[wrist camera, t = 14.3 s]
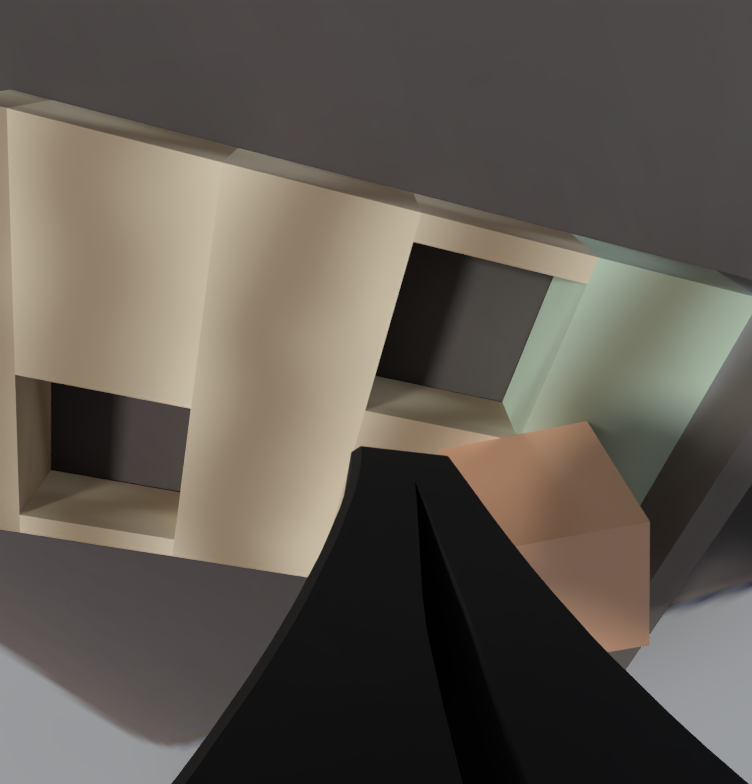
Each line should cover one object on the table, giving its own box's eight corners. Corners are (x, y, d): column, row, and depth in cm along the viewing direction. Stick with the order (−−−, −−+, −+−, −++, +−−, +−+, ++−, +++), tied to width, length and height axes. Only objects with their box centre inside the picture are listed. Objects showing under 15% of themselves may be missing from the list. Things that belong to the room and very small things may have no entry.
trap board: (747, 278, 18) (849, 339, 14) (579, 575, 23) (622, 673, 20) (11, 89, 15) (-101, 104, 11) (22, 482, 20) (-50, 578, 17)
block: (586, 420, 17) (649, 521, 14) (592, 531, 19) (649, 645, 16) (439, 449, 18) (462, 556, 14) (460, 555, 20) (485, 672, 16)
